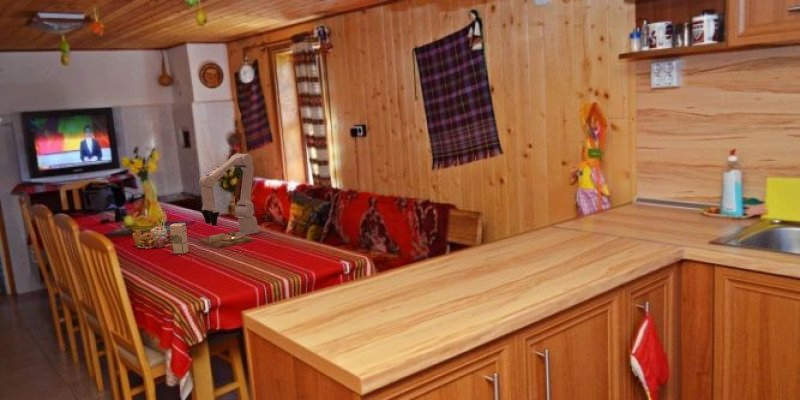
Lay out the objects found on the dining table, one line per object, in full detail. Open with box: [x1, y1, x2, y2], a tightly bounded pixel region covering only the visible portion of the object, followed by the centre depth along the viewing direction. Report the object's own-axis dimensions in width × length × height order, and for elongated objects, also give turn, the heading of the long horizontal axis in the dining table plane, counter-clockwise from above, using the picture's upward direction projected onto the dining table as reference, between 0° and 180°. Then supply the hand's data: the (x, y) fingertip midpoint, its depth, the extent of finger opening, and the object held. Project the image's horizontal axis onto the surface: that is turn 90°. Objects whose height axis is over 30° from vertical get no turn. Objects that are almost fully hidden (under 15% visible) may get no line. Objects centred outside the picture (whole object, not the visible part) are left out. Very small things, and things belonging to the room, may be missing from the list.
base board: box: [199, 231, 255, 249], centre depth 327 cm, size 20×22×2 cm
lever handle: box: [208, 231, 243, 243], centre depth 324 cm, size 18×11×3 cm, turn 130°
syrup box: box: [169, 222, 189, 255], centre depth 307 cm, size 6×6×14 cm
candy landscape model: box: [132, 226, 172, 250], centre depth 330 cm, size 25×24×9 cm
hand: (211, 224), depth 326 cm, fingers open, 7 cm apart
